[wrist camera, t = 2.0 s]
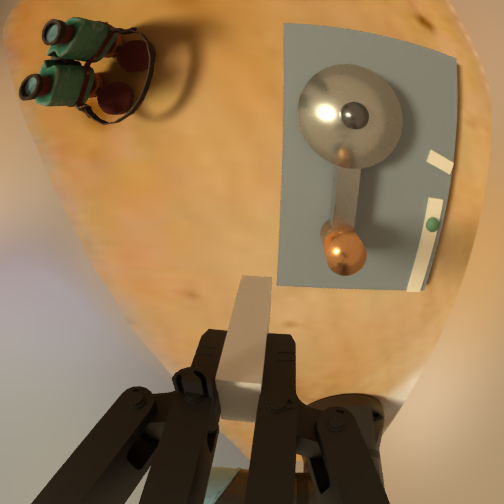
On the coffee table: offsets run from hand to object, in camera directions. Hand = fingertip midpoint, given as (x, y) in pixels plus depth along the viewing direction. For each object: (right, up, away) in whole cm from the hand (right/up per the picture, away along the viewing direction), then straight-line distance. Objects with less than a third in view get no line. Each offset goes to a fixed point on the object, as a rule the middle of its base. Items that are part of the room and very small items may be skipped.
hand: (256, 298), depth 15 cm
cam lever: (+7, +10, +7) cm, 14 cm away
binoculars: (-12, +20, +7) cm, 24 cm away
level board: (+10, +10, +8) cm, 17 cm away
